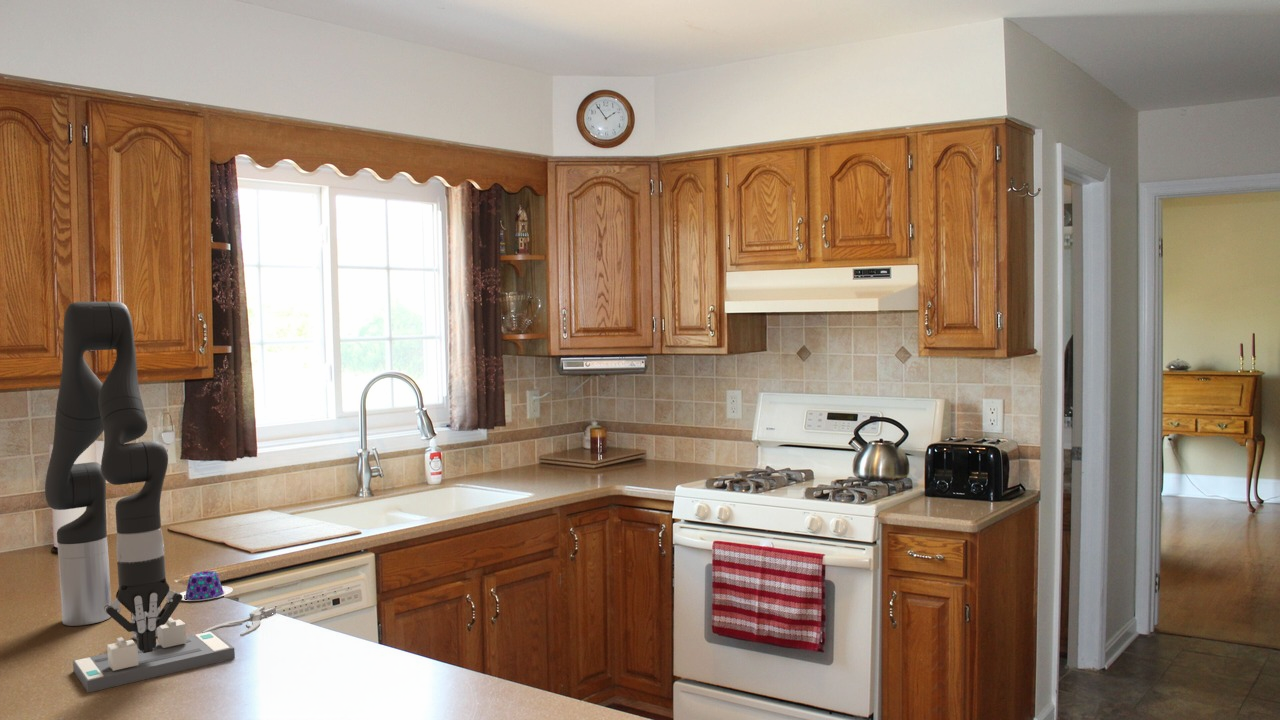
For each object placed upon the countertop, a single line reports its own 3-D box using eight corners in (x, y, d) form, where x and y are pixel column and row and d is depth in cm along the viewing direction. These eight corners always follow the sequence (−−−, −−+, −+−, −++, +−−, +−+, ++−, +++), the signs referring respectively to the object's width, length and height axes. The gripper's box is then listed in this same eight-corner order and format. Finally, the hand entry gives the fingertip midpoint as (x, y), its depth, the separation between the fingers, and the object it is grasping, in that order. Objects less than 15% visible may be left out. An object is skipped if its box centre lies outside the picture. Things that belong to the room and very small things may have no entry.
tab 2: (158, 642, 188) (156, 619, 188) (181, 638, 191) (179, 615, 191) (163, 648, 185) (161, 624, 185) (186, 643, 188) (185, 619, 188)
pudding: (170, 606, 223) (169, 582, 223) (182, 592, 235) (181, 569, 234) (228, 600, 226) (227, 577, 225) (237, 587, 237) (235, 565, 237)
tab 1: (108, 664, 177) (106, 640, 177) (133, 659, 179) (131, 635, 179) (113, 670, 174) (111, 645, 174) (138, 665, 176) (136, 640, 176)
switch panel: (73, 671, 181) (72, 659, 181) (213, 640, 196) (212, 629, 196) (88, 692, 170) (87, 680, 170) (234, 658, 185) (234, 646, 185)
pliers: (200, 627, 201) (249, 605, 215) (201, 635, 201) (249, 612, 215) (242, 629, 198) (289, 607, 213) (243, 637, 198) (289, 614, 213)
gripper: (175, 545, 185) (181, 638, 186) (94, 558, 177) (101, 655, 178) (186, 551, 179) (192, 647, 180) (103, 565, 171) (109, 666, 172)
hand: (146, 651), depth 179 cm, fingers closed
